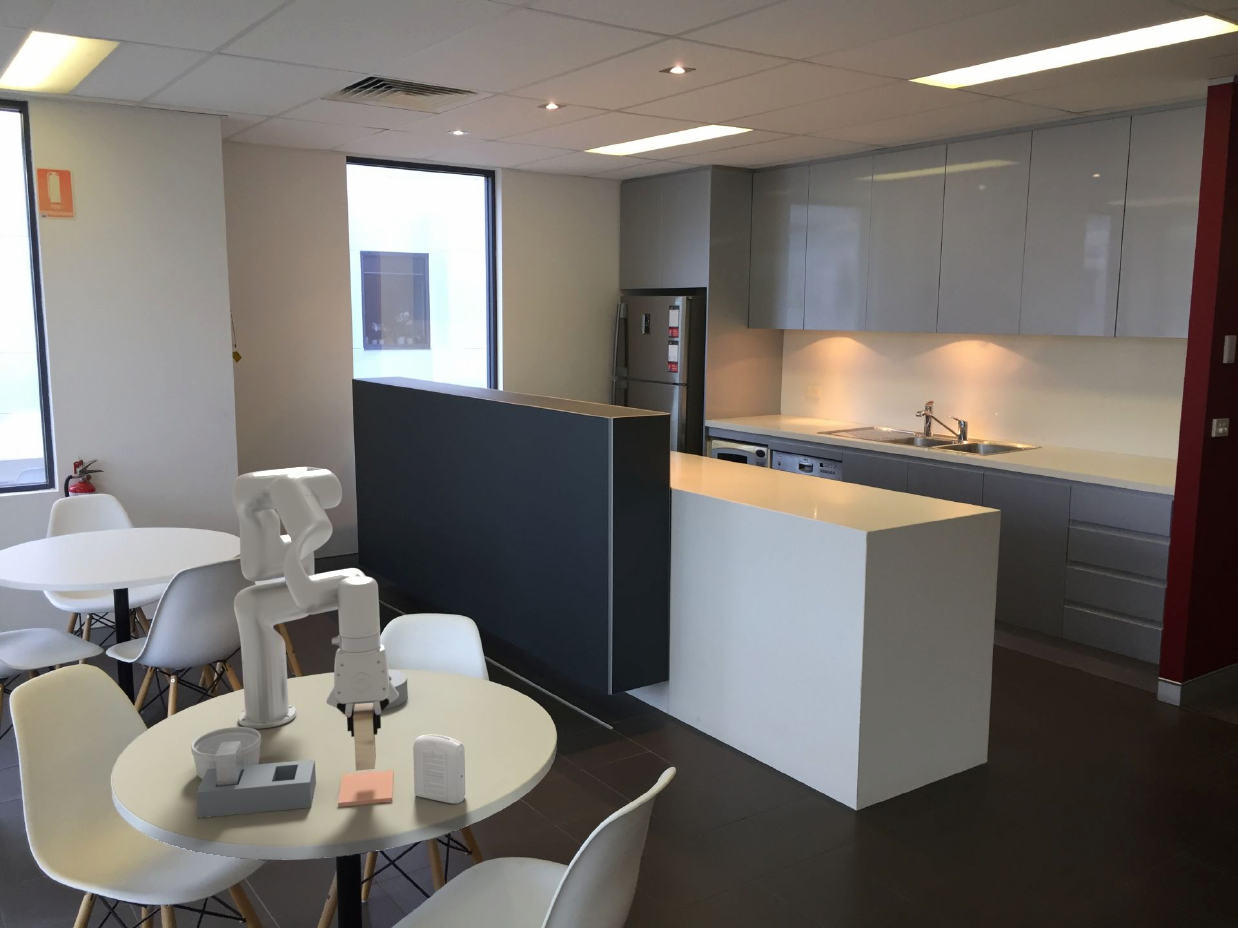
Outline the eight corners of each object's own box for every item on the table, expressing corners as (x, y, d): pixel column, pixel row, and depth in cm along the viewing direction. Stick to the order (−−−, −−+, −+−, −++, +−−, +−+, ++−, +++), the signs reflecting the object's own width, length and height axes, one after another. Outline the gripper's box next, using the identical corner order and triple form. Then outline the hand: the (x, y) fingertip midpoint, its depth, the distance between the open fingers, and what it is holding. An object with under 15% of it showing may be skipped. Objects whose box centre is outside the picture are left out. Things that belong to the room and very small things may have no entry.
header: (209, 792, 193) (207, 768, 192) (316, 782, 197) (314, 759, 196) (198, 818, 183) (196, 792, 183) (311, 806, 187) (309, 781, 187)
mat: (342, 778, 199) (342, 774, 199) (393, 773, 201) (393, 769, 201) (338, 806, 187) (337, 802, 187) (392, 801, 189) (392, 797, 189)
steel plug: (224, 796, 192) (221, 742, 190) (244, 794, 192) (240, 740, 191) (219, 811, 186) (215, 755, 184) (238, 809, 187) (235, 753, 185)
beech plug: (357, 757, 196) (355, 704, 194) (375, 755, 196) (373, 702, 195) (355, 770, 190) (353, 715, 188) (374, 768, 190) (372, 713, 189)
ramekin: (234, 791, 194) (232, 757, 193) (178, 782, 198) (176, 749, 197) (276, 762, 206) (274, 730, 205) (222, 754, 210) (220, 723, 209)
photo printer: (469, 796, 191) (467, 735, 189) (457, 806, 187) (455, 744, 185) (423, 787, 195) (421, 727, 193) (411, 797, 191) (408, 736, 189)
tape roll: (343, 691, 246) (342, 671, 245) (406, 685, 250) (406, 666, 249) (342, 714, 231) (341, 694, 231) (409, 708, 235) (408, 688, 234)
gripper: (313, 651, 184) (318, 744, 187) (404, 644, 188) (408, 736, 190) (317, 638, 192) (322, 729, 194) (404, 632, 195) (408, 721, 198)
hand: (364, 732), depth 192 cm, fingers closed on beech plug, 3 cm apart
